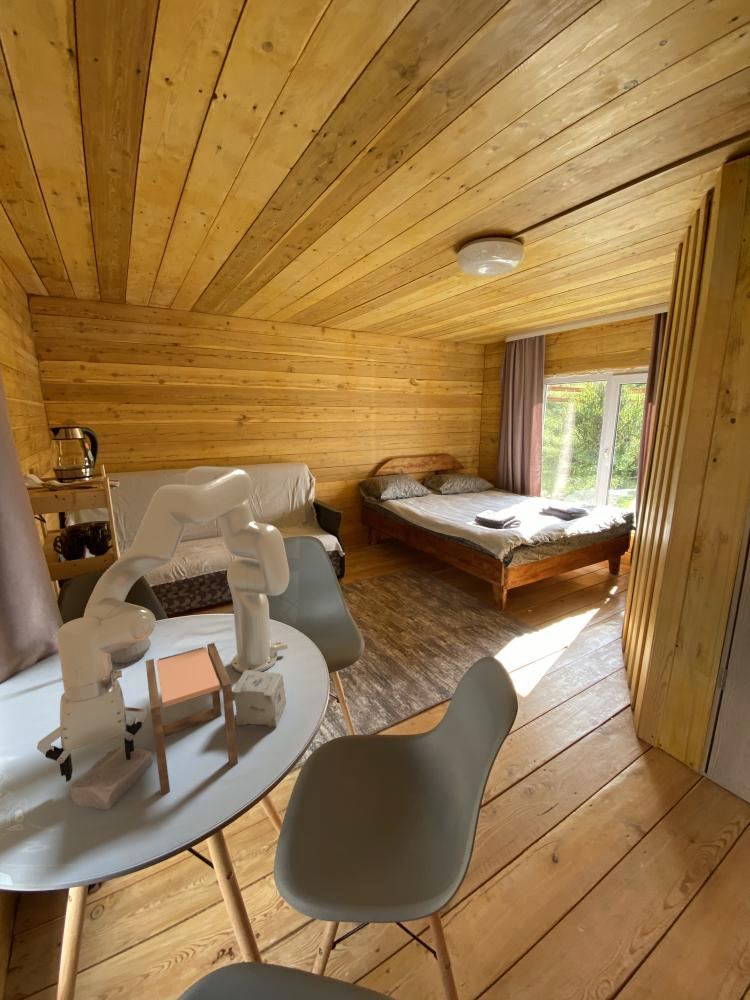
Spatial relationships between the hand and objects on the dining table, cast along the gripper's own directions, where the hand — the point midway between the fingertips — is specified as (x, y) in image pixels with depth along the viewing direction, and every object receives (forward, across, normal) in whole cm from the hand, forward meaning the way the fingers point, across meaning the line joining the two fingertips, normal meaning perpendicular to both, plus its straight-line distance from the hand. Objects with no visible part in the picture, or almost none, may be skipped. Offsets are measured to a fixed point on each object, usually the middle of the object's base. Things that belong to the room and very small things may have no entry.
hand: (99, 765), depth 80 cm
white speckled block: (+3, -31, -1) cm, 31 cm away
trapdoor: (-12, -16, 0) cm, 20 cm away
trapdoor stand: (+3, -17, +1) cm, 17 cm away
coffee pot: (+3, -1, -47) cm, 48 cm away
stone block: (+4, -2, +1) cm, 5 cm away
